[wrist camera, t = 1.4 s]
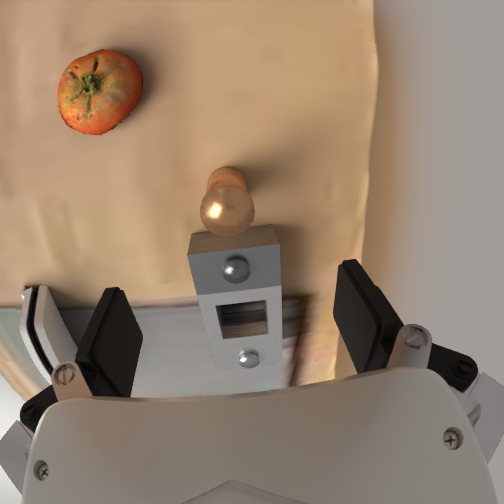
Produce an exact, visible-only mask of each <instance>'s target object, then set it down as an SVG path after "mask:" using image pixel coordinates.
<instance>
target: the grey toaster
mask: <svg viewBox="0 0 504 504" xmlns="http://www.w3.org/2000/svg"><path fill="white" fill-rule="evenodd" d="M20 294H21V296H22V298H23V300H24V302H23V307H22V313H21V319H20V333H21V335H22V338H23V340H24V343H25V345H26V347H27V350H28V352H29V354H30V356H31V357H32V359H33V361H34V363H35V364H36V366H37V368H38V369H39V371H40V372H41V374H42V375H43V376H44V378H45V379H46V380H47V381H48V383H49V384H50V385H51V384H52V382H51V375H52V372H53V370H54V369H55V368H56V366H57V365H59V364H60V363H62V362H64V361H73V362H74V361H75V359H76V357H75V356H76V353H77V351H78V348H77V346H76V344H75V343H74V341H73V339H72V337H71V335H70V333H69V331H68V329H67V328H66V326H65V324H64V322H63V320H62V318H61V316H60V313H59V311H58V309H57V307H56V305H55V303H54V301H53V298H52V296H51V294H50V291H49V289H48V287H47V286H45V285H40V286H39V289H37V293H36V291H35V290H33V288H32V287H31V288H29V289H26V287H25V286H23V287H22V290H21V293H20Z"/></svg>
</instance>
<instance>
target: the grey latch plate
mask: <svg viewBox="0 0 504 504" xmlns="http://www.w3.org/2000/svg"><path fill="white" fill-rule="evenodd" d="M187 256H188V260H189V264H190V269H191V273H192V277H193V281H194V285H195V289H196V293H197V297H198V301H199V305H200V308H201V312H202V316H203V319H204V323H205V327H206V330H207V334H208V337H209V341H210V344H211V348H212V351H213V355H214V358H215V361H216V365H217V368H218V371H227V370H237V369H246V368H255V367H263V366H270V365H277V364H283V352H282V293H281V259H280V243H279V240H278V237H277V235H276V232H275V229H274V227H273V224H270V225H262V226H253V227H248V228H247V229H246V230H245V231H244V232H242V233H240V234H238V235H235V236H229V237H224V236H219V235H216V234H214V233H212V232H203V233H195V234H191V239H190V244H189V249H188V254H187ZM259 300H263V303H264V310H257V311H249V312H241V313H232V314H223V315H222V311H221V306H220V305H226V304H235V303H243V302H251V301H259Z"/></svg>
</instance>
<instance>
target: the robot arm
mask: <svg viewBox="0 0 504 504" xmlns="http://www.w3.org/2000/svg"><path fill="white" fill-rule="evenodd" d="M333 316H334V319H335V322H336V324H337V326H338V328H339V331H340V333H341V335H342V338H343V340H344V342H345V345H346V346H347V349H348V351H349V354H350V356H351V359H352V361H353V363H354V366H355V368H356V371H357V373H358V374H356V375H352V376H347V377H343V378H338V379H333V380H328V381H323V382H318V383H313V384H307V385H302V386H296V387H290V388H283V389H276V390H269V391H261V392H253V393H244V394H234V395H222V396H207V397H185V398H131V397H130V396H131V391H132V386H133V381H134V376H135V371H136V367H137V362H138V358H139V354H140V349H141V345H142V341H143V335H142V332H141V330H140V327H139V325H138V323H137V321H136V319H135V316H134V314H133V312H132V310H131V307H130V305H129V303H128V300H127V298H126V296H125V293H124V291H123V290H120V288H119V287H112V288H106V289H105V291H104V293H103V295H102V297H101V299H100V301H99V303H98V305H97V307H96V309H95V311H94V314H93V316H92V318H91V320H90V322H89V325H88V327H87V329H86V331H85V334H84V336H83V338H82V341H81V343H80V346H79V348H78V351H77V353H76V356H75V357H76V359H75V361H74V362H73V361H64V362H62V363H60V364H59V365H57V366H56V368H55V369H54V370H53V372H52V375H51V382H52V384H51V385H50V386H48V387H47V388H46V389H44V390H43V391H41V392H40V393H38V394H37V395H35V396H34V397H33V398H31V399H30V400H28V401H27V402H26V403H25V404H24V405H23V406H22V408H21V411H20V422H19V421H18V420H16V421H15V423H14V424H13V425H12V426H11V428H10V429H9V430H8V431H7V433H6V434H5V435H4V436H3V437H2V439H1V440H0V465H1V466H2V468H3V469H4V471H5V472H6V474H7V475H8V477H9V478H10V479H11V481H12V482H13V484H14V485H15V486H16V488H17V489H18V490H19V492H20V493H21V494H22V504H498V501H497V496H496V492H495V488H494V485H493V482H492V478H491V475H490V472H489V469H488V465H487V464H488V463H489V461H490V459H491V457H492V456H493V454H494V452H495V450H496V448H497V446H498V444H499V442H500V440H501V438H502V436H503V434H504V386H503V385H501V384H500V383H498V382H497V381H496V380H494V379H492V378H491V377H490V376H489V375H487V374H486V373H484V372H482V374H480V373H479V372H478V368H477V364H476V363H475V361H474V360H473V359H472V358H471V357H469V356H466V355H464V354H461V353H459V352H456V351H453V350H450V349H447V348H444V347H442V346H439V345H436V344H433V343H432V337H431V334H430V333H429V331H428V330H427V329H425V328H424V327H422V326H420V325H417V324H408V325H405V326H404V324H403V323H402V321H401V320H400V318H399V317H398V315H397V313H396V312H395V310H394V309H393V308H392V306H391V304H390V303H389V302H388V300H387V299H386V297H385V296H384V294H383V293H382V291H381V290H380V288H379V287H378V286H375V285H374V283H373V282H372V281H371V279H370V278H369V276H368V275H367V273H366V272H365V271H364V269H363V268H362V266H361V265H360V264H359V262H358V261H357V260H356V259H351V260H344V261H343V262H342V264H340V265H339V266H338V274H337V284H336V292H335V300H334V308H333Z"/></svg>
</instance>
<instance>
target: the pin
mask: <svg viewBox="0 0 504 504" xmlns="http://www.w3.org/2000/svg"><path fill="white" fill-rule="evenodd" d="M254 213H255V210H254V204H253V201H252V198H251V196H250V195H249V194H248V192H247V188H246V184H245V180H244V177H243V176H242V174H241V173H240V172H239V171H238V170H236V169H234V168H231V167H222V168H219V169H217V170H215V171H214V172H213V173H212V174H211V176H210V177H209V180H208V185H207V190H206V195H205V196H204V198H203V200H202V203H201V208H200V216H201V220H202V222H203V224H204V225H205V227H206V228H207V229H208V230H209V231H211V232H212V233H214V234H216V235H219V236H224V237H229V236H235V235H238V234H240V233H242V232H244V231H245V230H246V229H247V228H248V227H249V226H250V224H251V223H252V221H253V218H254Z"/></svg>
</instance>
